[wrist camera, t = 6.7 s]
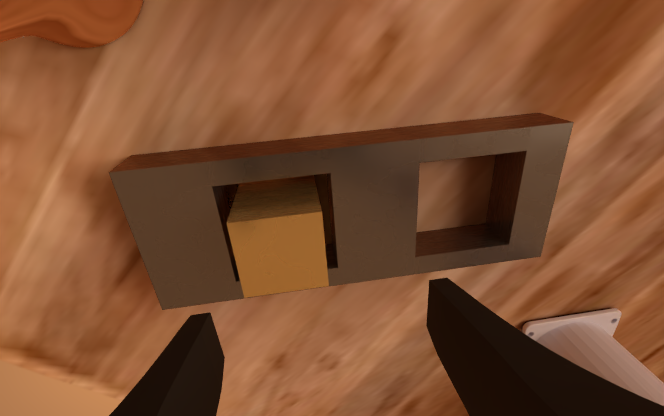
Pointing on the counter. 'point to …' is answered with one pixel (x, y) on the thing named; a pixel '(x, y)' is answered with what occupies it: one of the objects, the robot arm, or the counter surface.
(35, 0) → the beer glass
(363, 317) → the counter surface
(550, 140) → the grey slotted board
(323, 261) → the golden brown block
